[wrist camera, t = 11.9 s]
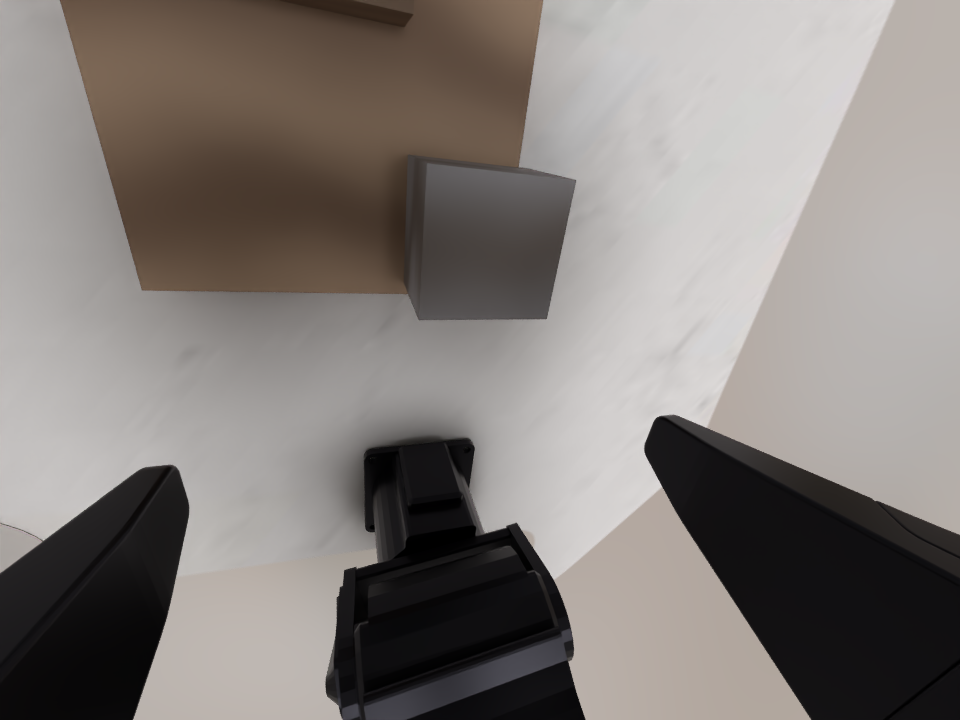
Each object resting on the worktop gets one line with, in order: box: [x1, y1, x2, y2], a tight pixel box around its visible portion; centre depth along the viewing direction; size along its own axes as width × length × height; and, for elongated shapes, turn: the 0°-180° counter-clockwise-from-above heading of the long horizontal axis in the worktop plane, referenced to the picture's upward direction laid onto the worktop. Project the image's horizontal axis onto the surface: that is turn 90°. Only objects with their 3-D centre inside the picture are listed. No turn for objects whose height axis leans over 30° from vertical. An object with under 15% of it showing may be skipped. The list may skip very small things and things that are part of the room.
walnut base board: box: [60, 0, 576, 320], centre depth 12 cm, size 18×14×6 cm
